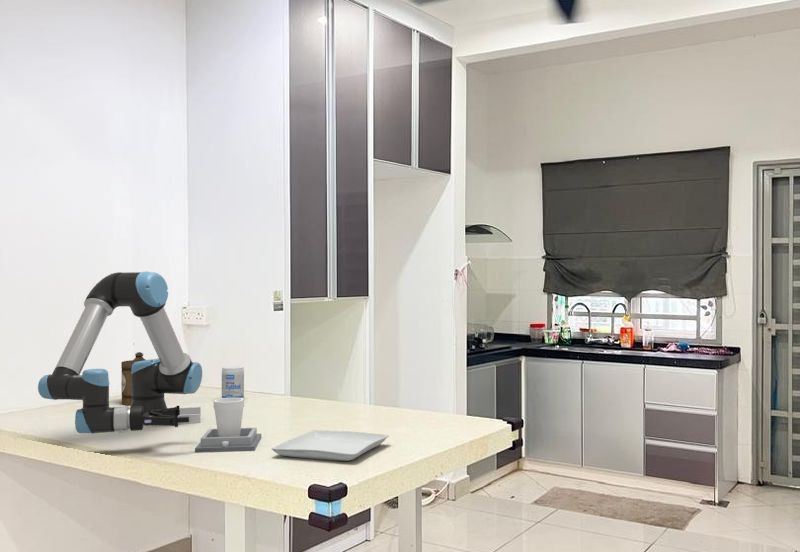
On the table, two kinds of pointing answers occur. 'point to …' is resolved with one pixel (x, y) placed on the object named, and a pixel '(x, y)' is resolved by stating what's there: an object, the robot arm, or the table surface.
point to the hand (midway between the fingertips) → (200, 414)
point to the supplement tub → (233, 382)
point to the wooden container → (128, 378)
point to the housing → (229, 441)
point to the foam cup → (229, 416)
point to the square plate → (330, 445)
